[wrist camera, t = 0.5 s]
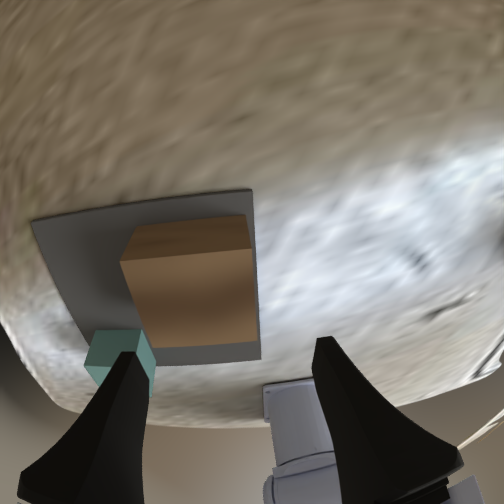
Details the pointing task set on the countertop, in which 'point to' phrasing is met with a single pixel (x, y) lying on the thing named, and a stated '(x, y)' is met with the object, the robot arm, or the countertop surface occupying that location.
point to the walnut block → (193, 281)
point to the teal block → (109, 348)
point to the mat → (111, 274)
